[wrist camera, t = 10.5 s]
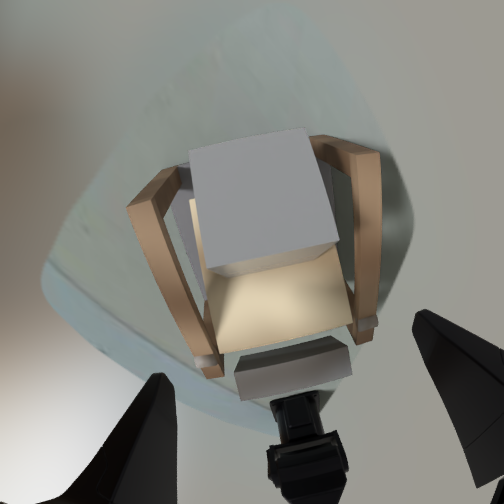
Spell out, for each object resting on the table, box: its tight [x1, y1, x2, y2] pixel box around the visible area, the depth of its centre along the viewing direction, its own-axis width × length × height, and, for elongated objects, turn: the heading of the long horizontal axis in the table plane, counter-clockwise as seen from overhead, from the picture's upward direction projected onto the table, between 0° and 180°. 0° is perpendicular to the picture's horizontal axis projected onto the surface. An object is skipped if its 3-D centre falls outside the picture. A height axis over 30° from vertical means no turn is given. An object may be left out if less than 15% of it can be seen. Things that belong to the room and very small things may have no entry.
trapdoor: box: [189, 198, 353, 401], centre depth 18 cm, size 13×8×6 cm
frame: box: [126, 135, 382, 379], centre depth 17 cm, size 12×11×8 cm
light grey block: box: [188, 127, 340, 278], centre depth 13 cm, size 5×5×6 cm
